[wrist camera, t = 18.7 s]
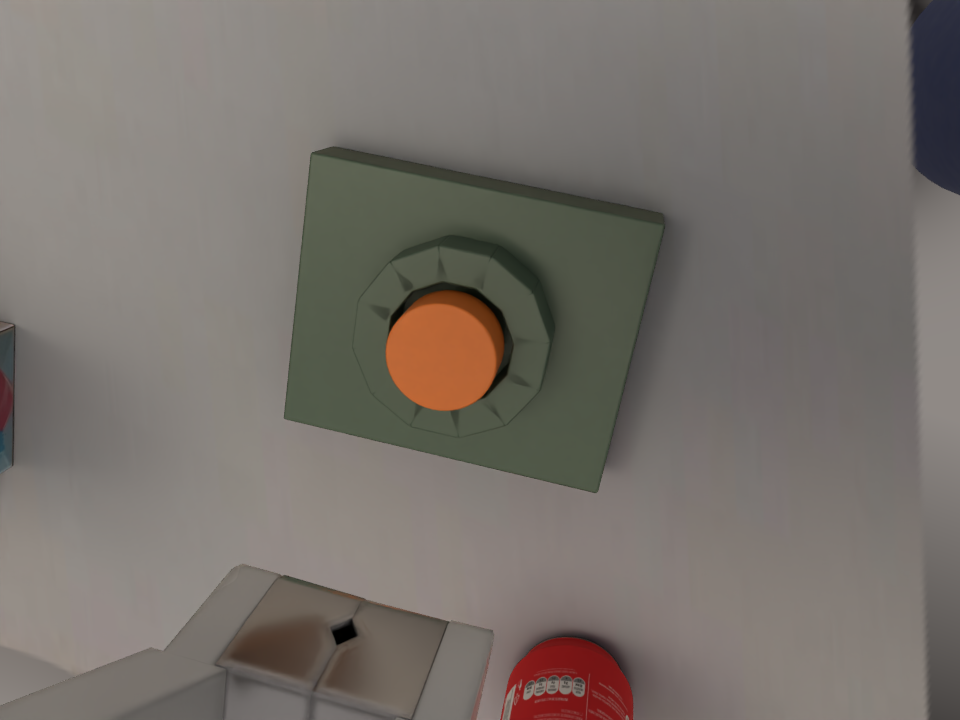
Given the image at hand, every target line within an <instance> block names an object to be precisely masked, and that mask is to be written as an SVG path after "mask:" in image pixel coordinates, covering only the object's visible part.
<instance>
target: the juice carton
mask: <svg viewBox="0 0 960 720" xmlns="http://www.w3.org/2000/svg"><path fill="white" fill-rule="evenodd" d="M13 409H14V325H12V324H8V323H4V322H0V474H1V473H2V472H4V471H5V470H7V469H9V468H10V467H12V466H13Z"/></svg>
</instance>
